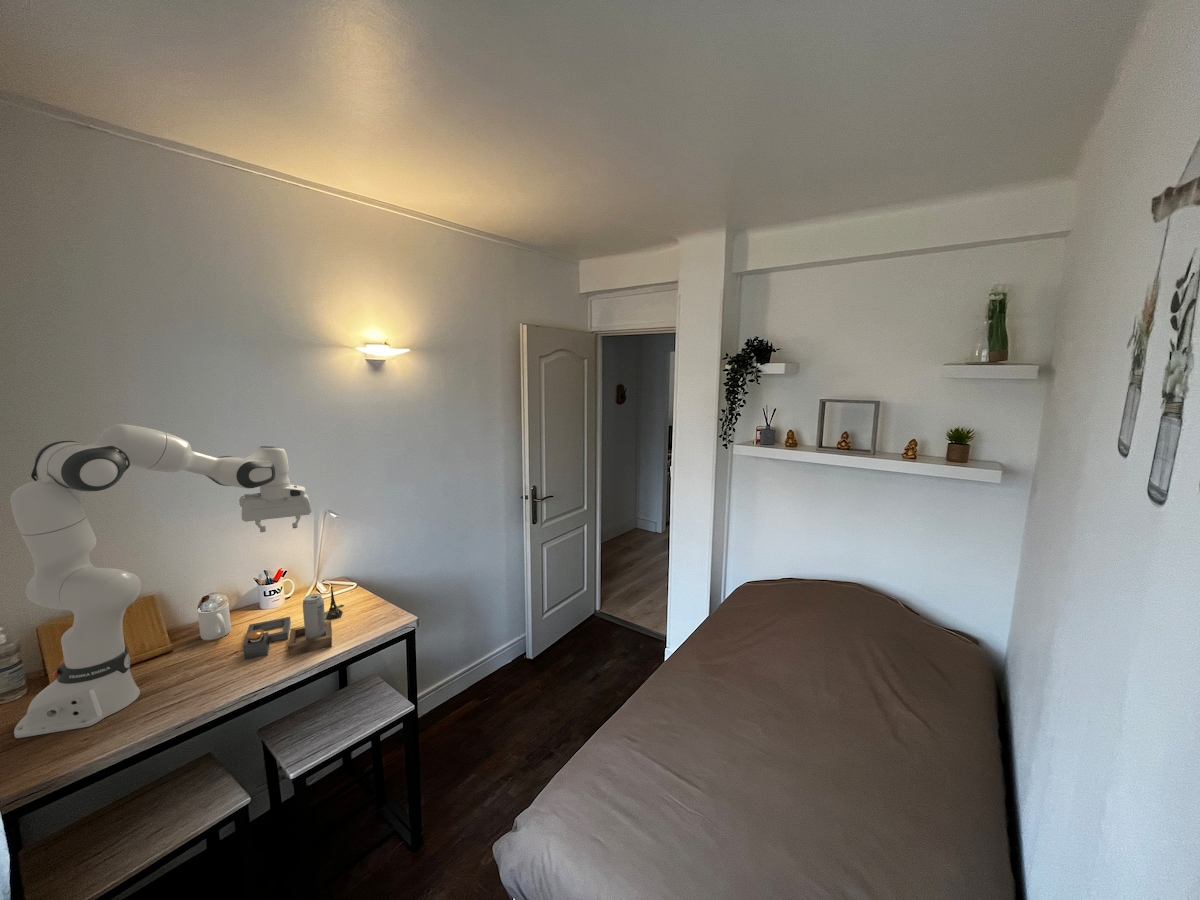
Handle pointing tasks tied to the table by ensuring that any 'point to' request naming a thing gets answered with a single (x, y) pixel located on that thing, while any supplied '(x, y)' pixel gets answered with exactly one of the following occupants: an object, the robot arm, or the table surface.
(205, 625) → the mug
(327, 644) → the brown wooden tray
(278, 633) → the socket block
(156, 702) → the table surface
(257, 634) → the release plunger
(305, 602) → the energy drink can
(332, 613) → the eiffel tower figurine
